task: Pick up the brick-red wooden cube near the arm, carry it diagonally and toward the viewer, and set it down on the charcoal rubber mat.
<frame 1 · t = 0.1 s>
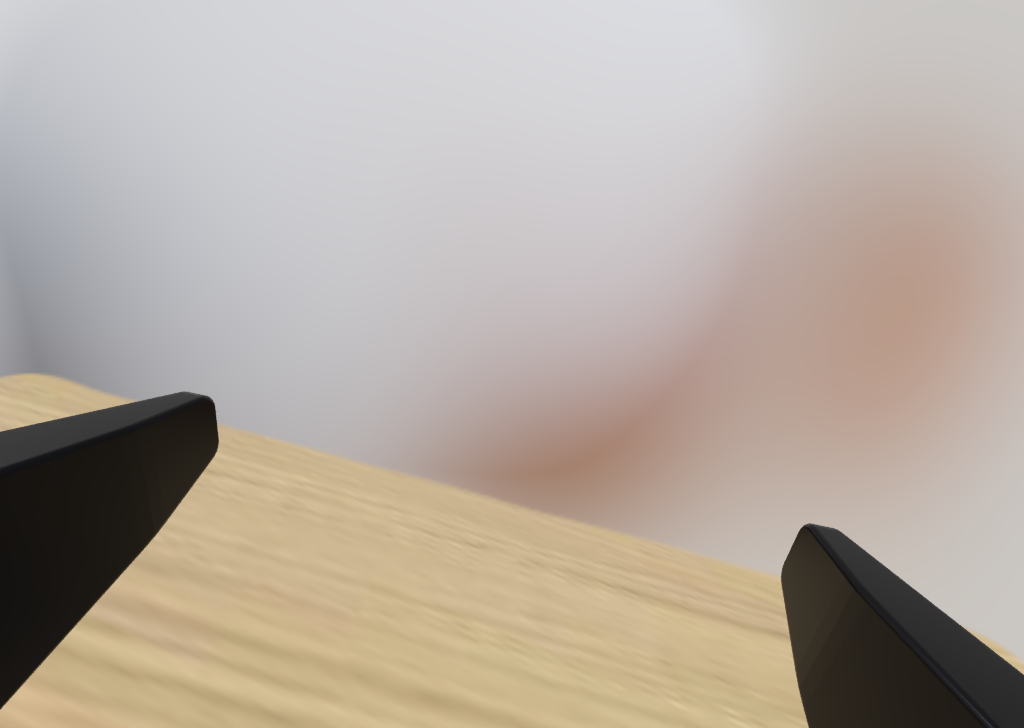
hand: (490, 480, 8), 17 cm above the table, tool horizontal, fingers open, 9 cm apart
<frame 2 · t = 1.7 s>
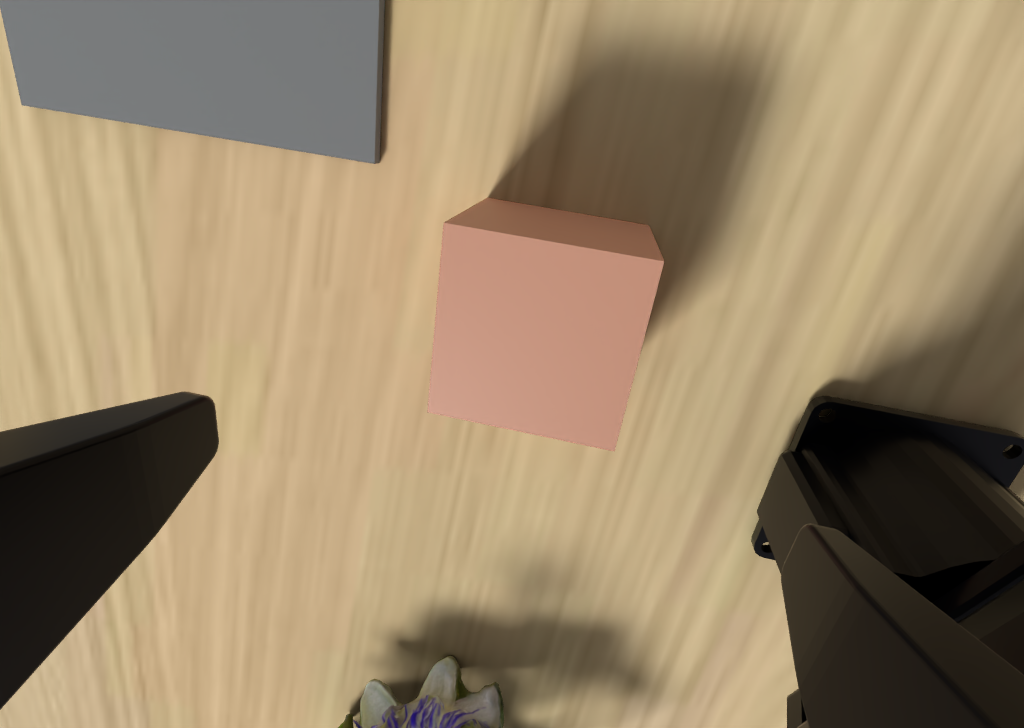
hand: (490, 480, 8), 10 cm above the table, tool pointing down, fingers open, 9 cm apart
passion flower: (457, 716, 27), on the table
cube: (553, 288, 18), on the table
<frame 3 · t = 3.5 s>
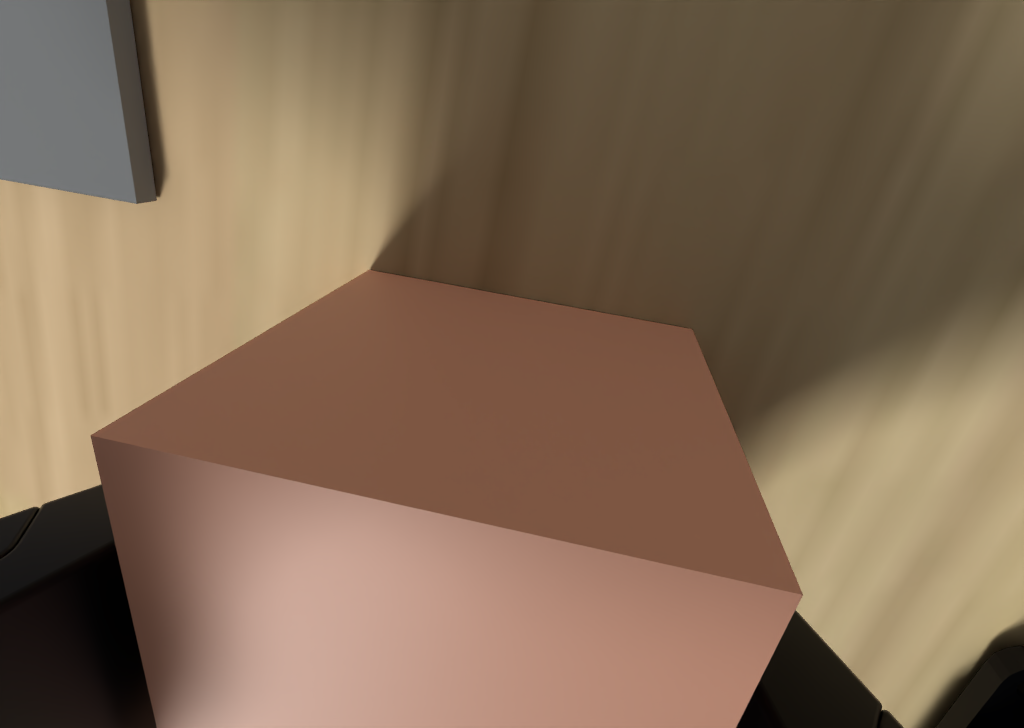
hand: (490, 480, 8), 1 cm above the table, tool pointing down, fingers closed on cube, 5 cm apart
cube: (504, 437, 9), on the table, touching gripper
when the fingers open (3 cm above the table, at t = 8.4 s): cube drops 1 cm, resting on mat.
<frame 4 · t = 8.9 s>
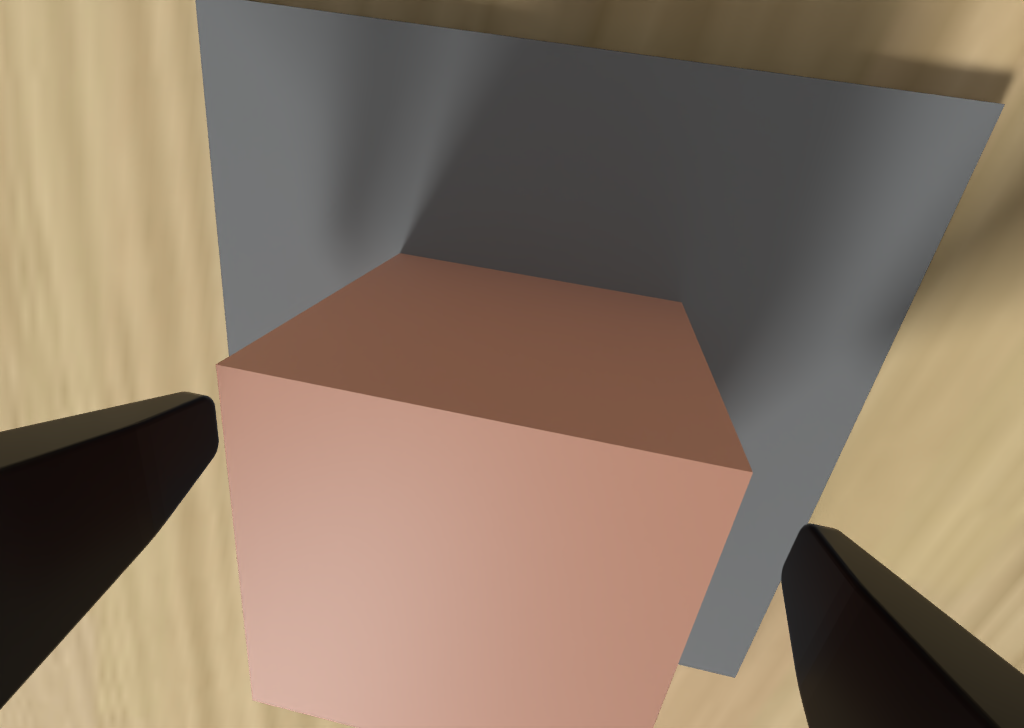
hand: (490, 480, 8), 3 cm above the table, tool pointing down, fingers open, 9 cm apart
mat: (518, 390, 11), on the table
cube: (517, 401, 10), resting on mat
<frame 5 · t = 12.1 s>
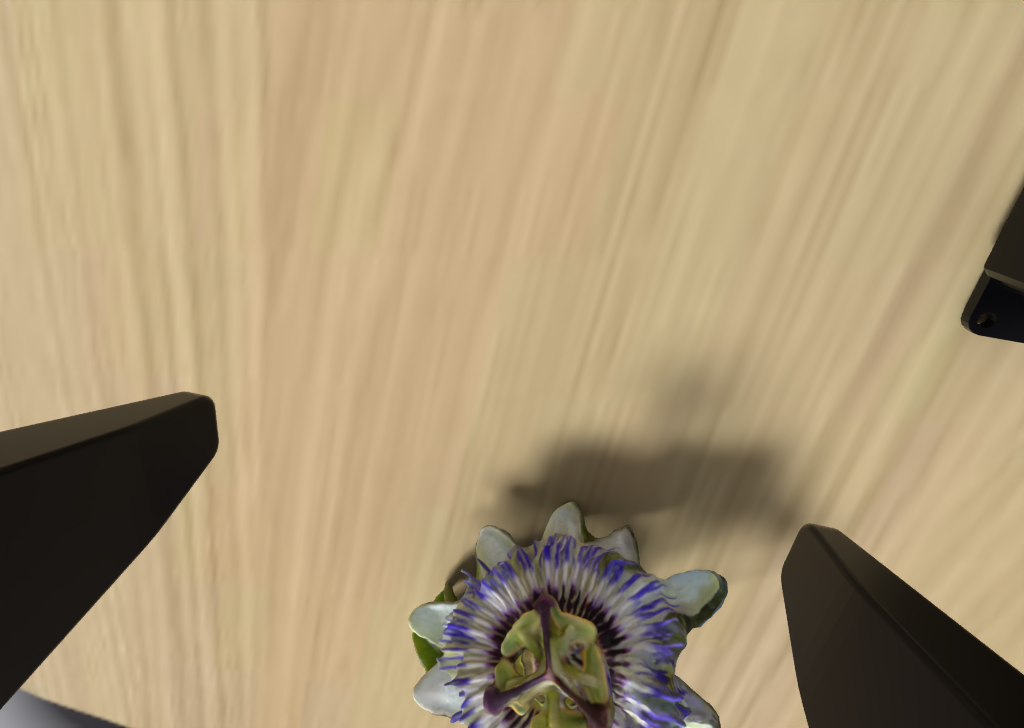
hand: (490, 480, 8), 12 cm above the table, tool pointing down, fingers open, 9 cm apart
passion flower: (568, 582, 25), on the table
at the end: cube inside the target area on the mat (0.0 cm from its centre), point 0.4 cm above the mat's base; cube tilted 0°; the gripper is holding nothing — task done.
